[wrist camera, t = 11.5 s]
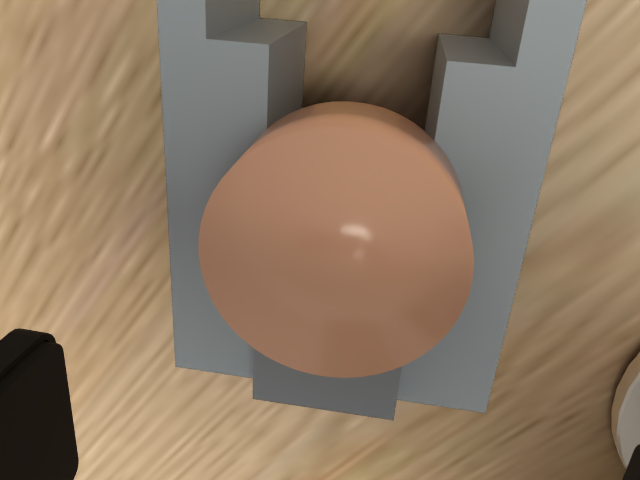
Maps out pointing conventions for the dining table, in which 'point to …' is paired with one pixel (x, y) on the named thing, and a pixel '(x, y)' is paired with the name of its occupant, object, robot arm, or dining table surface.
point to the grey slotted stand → (441, 124)
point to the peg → (339, 242)
